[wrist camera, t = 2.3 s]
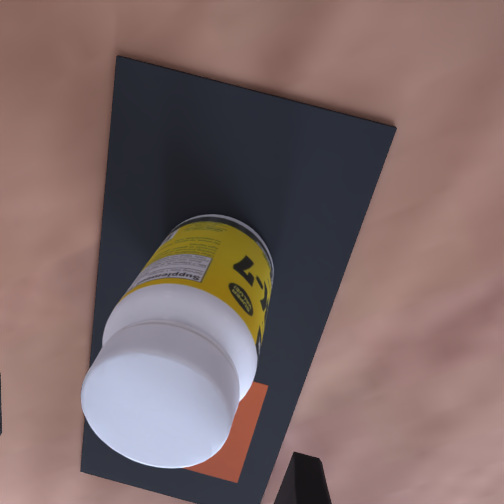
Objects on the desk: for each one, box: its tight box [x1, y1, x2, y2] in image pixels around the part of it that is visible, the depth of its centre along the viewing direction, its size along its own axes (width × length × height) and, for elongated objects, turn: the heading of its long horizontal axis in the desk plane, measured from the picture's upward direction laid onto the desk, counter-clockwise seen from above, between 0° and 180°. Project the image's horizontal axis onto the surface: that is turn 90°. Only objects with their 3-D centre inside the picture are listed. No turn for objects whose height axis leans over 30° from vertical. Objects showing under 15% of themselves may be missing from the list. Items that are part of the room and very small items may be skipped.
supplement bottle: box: [81, 214, 274, 468], centre depth 16 cm, size 5×5×8 cm
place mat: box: [80, 56, 397, 504], centre depth 22 cm, size 10×22×1 cm, turn 167°
